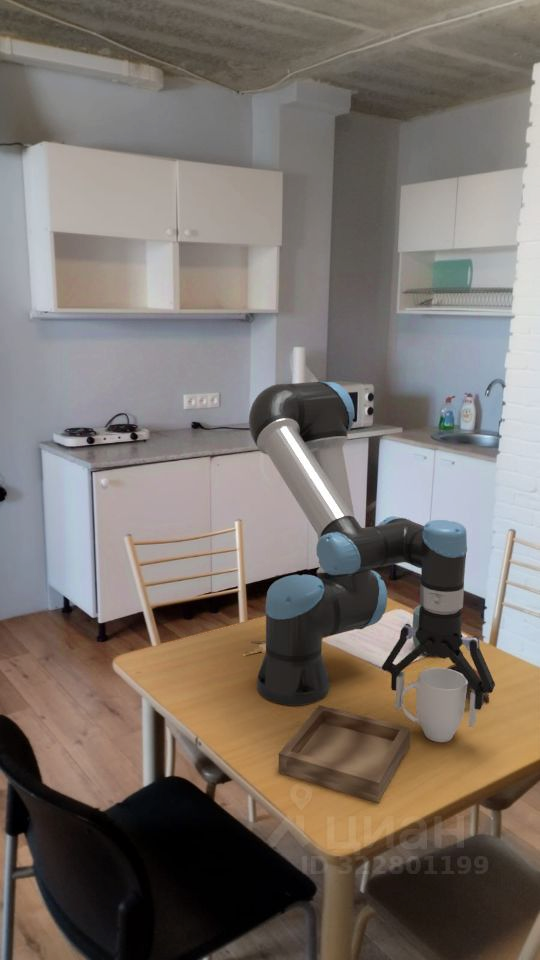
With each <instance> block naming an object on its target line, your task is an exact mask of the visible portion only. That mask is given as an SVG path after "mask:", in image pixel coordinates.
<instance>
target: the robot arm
mask: <svg viewBox="0 0 540 960" xmlns="http://www.w3.org/2000/svg"><path fill="white" fill-rule="evenodd" d="M355 415H356V414H355V406H354V403H353V400H352V398H351V396H350V394H349V393H348V391H347V389H346V388H344V387H342V386H341V384H339V383H337V382H333V381H327V382H326V381H321V380H318V381H314V382H313V381H311V382H297V383H278V384H273V385H270V386H269V387H266V388H264V389H263V390H262V391H261V392H260V393H258V395H257V396H256V397H255V399H254V401H253V403H252V405H251V406H250V411H249V416H248V427H249V432H250V436H251V438H252V439H253V442H254V444H255V446H256V447H257V449H258V450H259V452H261V453H262V454H264V455H268V457H269V459H270V460H271V462H272V464H273V465H274V467H275V469H276V470H277V472H278V473H279V475H280V476H281V478H282V480H283V481H284V482H285V485H286V486H287V488H288V490H289V491H290V492H291V494H292V496H293V497H294V499H295V501H296V502H297V504H298V505H299V507H300V509H301V510H302V512H303V513H304V515H305V517H306V518H307V520H308V521H309V523H310V525H311V527H312V528H313V530H314V532H315V533H316V534H317V540H318V541H317V544H316V556H317V557H318V564H319V567H318V568H317V570H316V576H315V575H312V574H306V573H305V574H304V573H303V574H302V575H301V574H300V575H299V574H292V575H288V576H283V577H282V578H279V579H277V580H275V581H273V583H272V584H271V585H270V586H269V588H268V590H267V592H266V599H265V606H264V607H265V608H264V609H265V610H264V611H265V653H264V657H263V659H262V663H261V665H260V668H259V670H258V673H257V679H256V680H257V681H256V687H257V688H256V689H257V691H258V693H259V694H260V695H261V697H263V698H265V699H266V700H268V701H270V702H273V703H276V704H279V705H280V704H281V705H286V706H287V705H288V706H305V705H310V704H312V703H313V704H314V703H316V702H318V701H320V700H322V699H324V698H325V697H326V696H327V695H328V693H329V690H330V677H329V673H328V670H327V667H326V664H325V661H324V657H323V654H322V653H323V652H322V650H323V648H322V647H323V646H322V645H323V638H327V637H330V636H335V635H340V634H342V633H346V632H351V631H354V630H363V629H366V628H368V627H369V626H374V625H376V624H377V623H378V622H380V620H381V619H382V618H383V615H384V614H385V613H386V609H387V605H388V591H387V587H386V584H385V581H384V580H383V579H382V576H381V575H380V574H379V573H378V572H377V571H375V570H373V569H375V568H382V567H387V566H391V565H392V566H393V565H397V564H401V563H406V564H409V565H411V566H413V567H416V568H419V569H421V575H420V576H421V577H420V589H419V590H420V591H419V592H420V594H419V596H420V597H419V604H420V605H421V606H420V605H419V606H420V610H419V628H418V629H416V628H413V626H411V625H410V623H406V624H404V625H403V626H402V628H401V629H400V634H399V639H398V640H397V642H396V643H395V645H394V647H393V648H392V650H391V652H389V654H388V655H387V657H386V659H385V661H384V662H383V664H382V665H381V668H382V670H383V671H385V672H386V671H387V672H389V673H390V674H391V682H390V685H391V686H390V688H391V690H392V691H395V704H394V705H395V708H394V709H395V710H397V711H400V709H402V706H401V695H402V692H403V690H404V688H405V674H406V673H405V671H403V670H405V669H406V668H407V667H408V666H409V665H410V664H412V663H413V662H414V661H416V659H418V657H420V656H421V655H423V653H424V652H426V653H427V654H429V655H428V656H429V657H437V658H441V659H444V660H446V659H448V658H449V660H450V661H451V662H452V663H453V665H454V664H455V665H456V666H457V667H458V669H459V670H460V671H461V673H462V674H463V676H464V677H465V678H466V680H467V681H468V683H469V684H470V685H471V687H472V688H473V690H472V689H471V691H470V699H469V716H468V727H470V728H474V726H475V723H476V720H477V710H479V711H480V710H481V709H482V707H483V705H484V696H485V694H484V693H486V692H488V693H489V694H492V692H493V691H494V689H495V686H496V683H495V680H494V678H493V676H492V674H491V671H490V669H489V667H488V664H487V663H486V660H485V658H484V655H483V653H482V650H481V648H480V638H479V636H478V635H473V636H472V637H464V636H463V634H462V625H463V624H462V623H463V610H462V608H463V606H464V591H465V589H464V588H465V572H466V571H465V570H466V560H467V559H466V558H467V552H468V545H467V544H468V543H467V529H466V527H465V526H464V525H463V524H461V523H460V522H457V521H454V520H453V521H450V520H446V519H444V520H443V519H434V520H430V521H428V522H426V523H425V524H424V525H423V524H419V523H417V522H415V521H413V520H410V519H409V518H408V519H407V518H405V517H400V516H393V515H392V516H387V517H386V518H385V519H383V520H382V521H380V522H379V523H378V525H375V526H369V527H368V526H367V527H362V526H361V525H360V523H359V522H358V521H357V518H356V517H355V511H354V507H353V506H354V505H353V500H352V494H351V489H350V483H349V478H348V472H347V466H346V460H345V455H344V449H343V447H344V446H345V443H346V442H347V441H348V440H349V438H348V432H349V431H350V430H351V429H352V427H353V426H354V421H353V420H354V419H355ZM414 635H415V636H416V638H417V640H418V641H419V643H420V644H419V645H418V646H417V647H416V648H415V647H414V649H413V650H412V651H411V652H409V653H408V654H407V655H406V656H405V657H403V659H401V660H400V661H398V662H397V663H396V664H395V663H394V662H395V660H396V658H397V657H398V655H399V654H400V652H401V650H402V649H403V647H404V646H405V644H406V643H407V641H408V640H411V639H413V636H414ZM462 645H463V646H465V648H466V650H467V651H469V654H470V657H471V660H472V661H473V664H474V667H475V668H476V669H475V670H476V671H478V674H479V676H480V678H481V679H480V678H479V676H478V675H477V674H476V672H475V671H474V670H473V669H474V668H473V667H472V666H471V664H470V663H469V661H468V660H467V659H466V657H465V656H464V653H463V651H462V649H461V646H462ZM427 654H426V655H427ZM404 695H405V694H404ZM404 695H403V698H402V704H404Z"/></svg>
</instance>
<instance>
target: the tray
mask: <svg viewBox="0 0 540 960" xmlns="http://www.w3.org/2000/svg"><path fill="white" fill-rule="evenodd" d="M410 742H411V727H407V726H403V725H399V724H396V723H395V724H394V723H391V722H388V721H383V720H380V719H376V718H372V717H367V716H364V715H360V714H357V713H352V712H349V711H345V710H341V709H336V708H334V707H329V706H326V705H321V704H318V705H317V706H316V708H315V709H314V710H313V711H312V713H311V714H309V716H308V718H306V719H305V721H304V722H303V723H302V725H300V727H299V728H298V729H297V731H296V732H295V733H294V734H293V735H292V737H291V738H290V739H289V740H288V742H286V744H285V745H284V746H283V747H282V748H281V750H280V751H279V752H278V764H277V765H278V767H277V768H278V771H277V772H278V773H279V772H282V773H284V774H283V775H285V774H286V775H287V776H288V775H290V776H289V777H292V778H294V779H295V778H296V779H299V780H303V781H306V782H307V783H312V784H315V785H318V786H321V787H325V788H329V789H331V790H335V791H337V792H340V793H345V794H348V795H351V796H354V797H358V798H361V799H365V800H368V801H371V802H373V803H378V804H379V802H380V801H381V798H382V797H383V795H384V794H385V792H386V790H387V788H388V786H389V784H390V782H391V781H392V778H393V777H394V775H395V774H396V771H397V770H398V768H399V767H400V764H401V762H402V760H403V758H404V757H405V755H406V753H407V751H408V750H409V748H410V746H411V745H410ZM282 773H281V774H282Z"/></svg>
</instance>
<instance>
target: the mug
mask: <svg viewBox="0 0 540 960" xmlns="http://www.w3.org/2000/svg"><path fill="white" fill-rule="evenodd" d="M467 684H468V681H467V680H466V678H465V677H464V676H463V675H462V674H461V673H459V672H457V671H454V670H451V669H446V668H444V667H430V668H427V669H424V670H422V671H421V672H420V673H418V678H417V680H416V681H413V682H410V683H409V684H407V685H406V686H404V690H403V692H402V695H401V709H402V712H403V714H404V715H405V716H406V717H407V718H408V719H409V720H411V721H412V722H414V723H417V724H418V725H420V727H421V728H422V731H423V733H424V735H425V737H426V738H427V739H429V740H430V741H433V742H435V743H447V742H450V741H451V740H452V739H453V737H454V736H455V733H456V732H457V730H458V728H459V726H460V725H461V723H462V720H463V717H464V713H465V707H466V699H467V698H466V692H467ZM411 689H415V691H416V702H415V705H416V706H415V707H416V708H415V709H416V710H415V711H416V716H414V715H413V714H411V713H410V712H409V711H408V710H406V708H405V706H404V705H403V704H404V703H403V704H402V698H403V695H405V694H406V693H407V692H408V691H409V690H411Z"/></svg>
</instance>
